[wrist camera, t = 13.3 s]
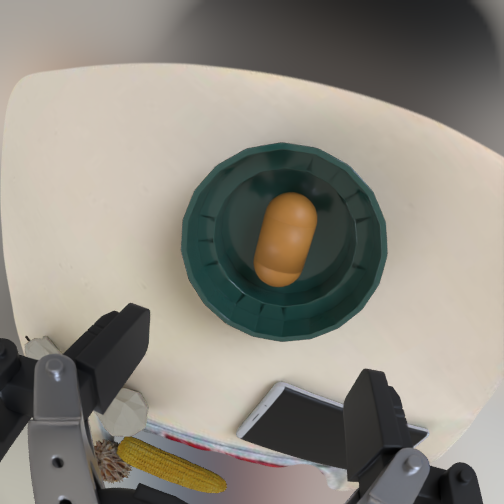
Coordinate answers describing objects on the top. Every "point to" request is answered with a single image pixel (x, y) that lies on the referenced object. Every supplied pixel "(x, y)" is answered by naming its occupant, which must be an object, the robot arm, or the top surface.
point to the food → (169, 466)
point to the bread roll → (285, 239)
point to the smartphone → (304, 426)
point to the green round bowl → (320, 252)
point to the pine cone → (110, 462)
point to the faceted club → (122, 407)
